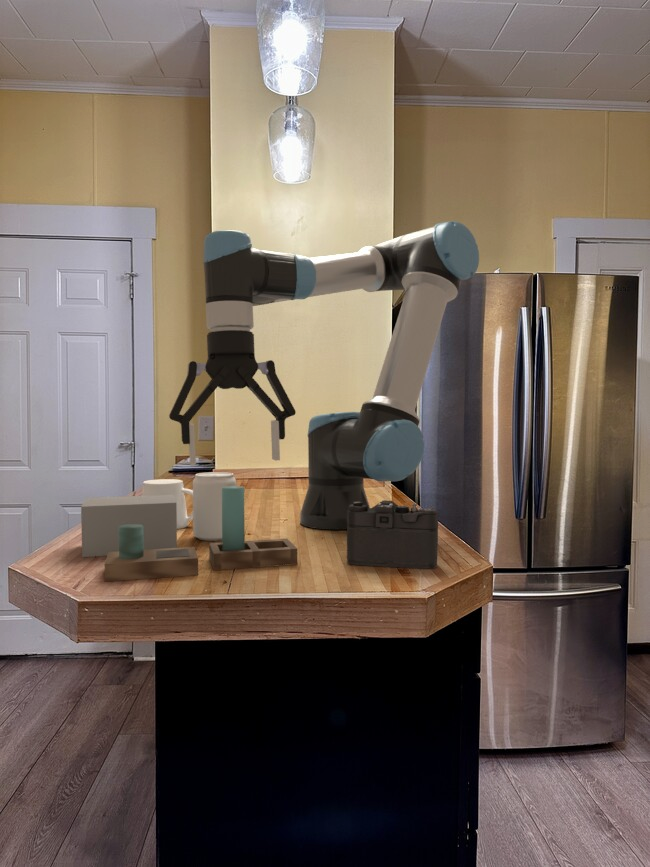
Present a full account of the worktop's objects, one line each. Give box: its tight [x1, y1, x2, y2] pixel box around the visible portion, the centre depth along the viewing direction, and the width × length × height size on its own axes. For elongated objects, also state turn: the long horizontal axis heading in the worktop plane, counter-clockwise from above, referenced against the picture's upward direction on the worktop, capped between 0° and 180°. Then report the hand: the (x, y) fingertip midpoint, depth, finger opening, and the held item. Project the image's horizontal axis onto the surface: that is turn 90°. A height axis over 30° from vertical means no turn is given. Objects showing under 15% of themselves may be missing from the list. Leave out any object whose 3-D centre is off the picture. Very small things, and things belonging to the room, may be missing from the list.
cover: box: [80, 495, 178, 558], centre depth 109 cm, size 15×10×8 cm, turn 106°
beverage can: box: [192, 471, 237, 542], centre depth 118 cm, size 8×8×12 cm
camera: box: [346, 500, 439, 570], centre depth 101 cm, size 14×11×10 cm
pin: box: [221, 485, 246, 551], centre depth 99 cm, size 4×4×12 cm
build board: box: [208, 538, 299, 571], centre depth 100 cm, size 13×8×2 cm, turn 106°
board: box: [104, 524, 199, 582], centre depth 94 cm, size 13×8×7 cm, turn 106°
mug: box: [141, 478, 193, 530], centre depth 128 cm, size 12×9×8 cm
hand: (235, 462), depth 102 cm, fingers open, 13 cm apart
